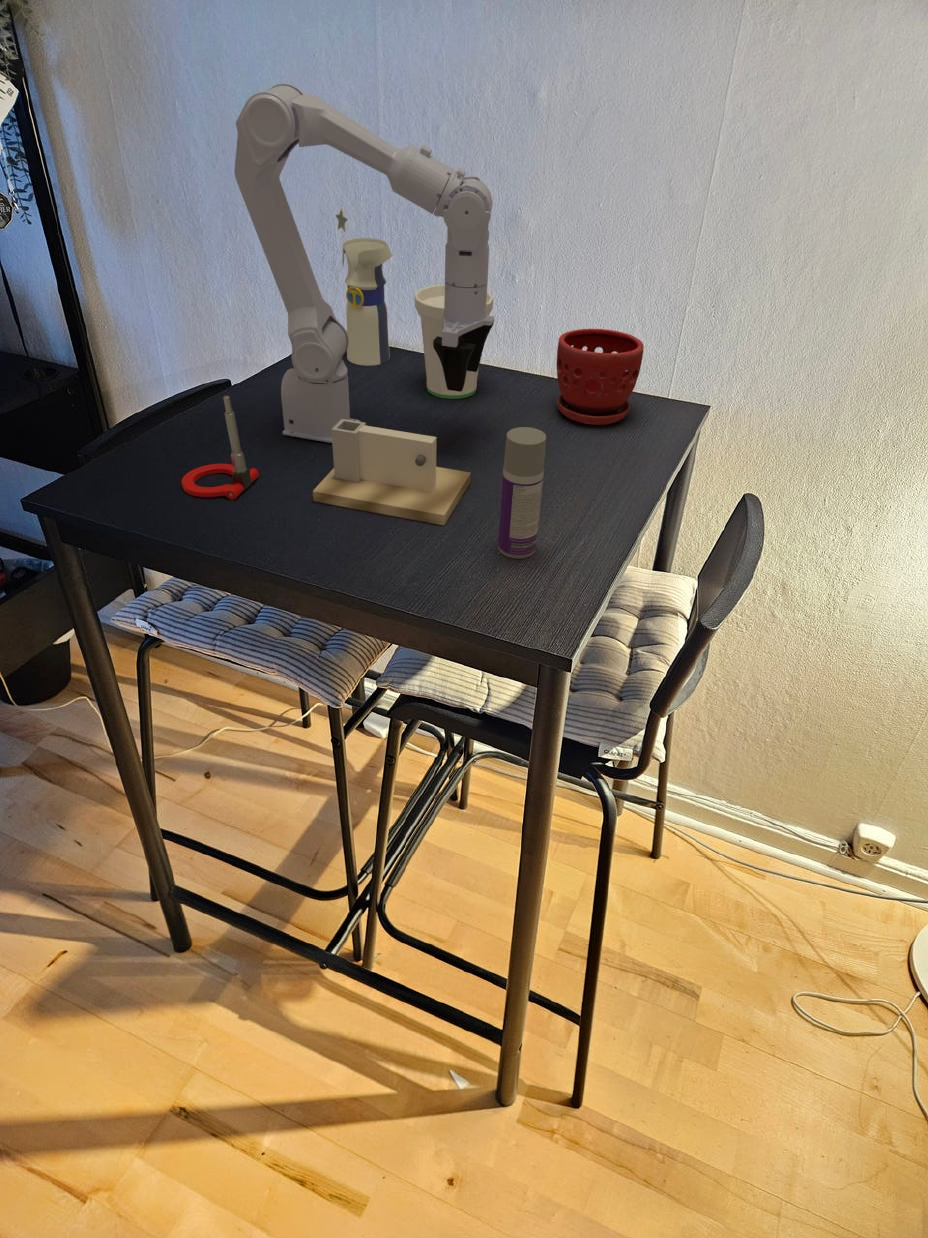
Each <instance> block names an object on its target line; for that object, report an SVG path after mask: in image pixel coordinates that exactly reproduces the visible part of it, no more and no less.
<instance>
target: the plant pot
mask: <svg viewBox="0 0 928 1238" xmlns="http://www.w3.org/2000/svg"><path fill="white" fill-rule="evenodd" d="M557 342H558V343H557V349H556V351H557V352H556V378H557V383H558V388H559V391H560V395H559V397H557V400H556V405H557V408H558V409H559V411H560V412H561V414H563V416H564V417H566V418H568V419H570V420H573V421H575V422H578V423H581V424H587V425H601V426H606V425H609V424H612V423H613V424H614V423H616V422H619V421H621V420H622V419H624V418H625V417H626V416H627V415H628V414H629V412H630V409H631V405H630V403H629V401H628V399H629V398H630V396H631V395H632V393H633V392H634V389H635V387H636V385H637V381H638V378H639V375H640V372H641V367H642V362H643V357H644V351H645V350H644V348H645V347H644V343H643V342H642V340H640V339H639V338H638V337H636V336H634V335H632V334H630V333H626V332H622V331H619V330H614V329H613V330H612V329H604V328H603V329H602V328H581V329H573V330H570V331H567V332H564V333H562V334H561V335H560V336H559V337H558V341H557ZM585 347H586V349H585V350H584V348H585ZM597 348H600V349H601V350H602V352H596V349H597Z"/></svg>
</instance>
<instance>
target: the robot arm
mask: <svg viewBox="0 0 928 1238" xmlns="http://www.w3.org/2000/svg"><path fill="white" fill-rule="evenodd" d="M235 128H236V133H237V138H236V140H237V141H236V147H235V149H236V150H235V161H234V172H233V173H234V176H235V181H236V183H237V186H238V189H239V191H240V194H241V197H242V199H243V202H244V203H245V204H244V205H245V206H246V209H247V212H248V214H249V216H250V219H251V222H252V225H253V227H254V230H255V232H256V235H257V237H258V240H259V243H260V246H261V248H262V251H263V253H264V255H265V258H266V260H267V263H268V266H269V268H270V270H271V273H272V276H273V279H274V281H275V284H276V287H277V289H278V291H279V294H280V296H281V299H282V302H283V304H284V306H285V309H286V313H287V335H288V337H289V340H290V343H291V344H290V345H291V362H292V366H293V368H291V367H290V368H289V369H287V370H286V372H285V373H284V374H283V376H282V380H281V386H280V396H281V407H282V417H283V428H284V430H283V431H282V435H283V436H287V437H288V436H289V437H294V438H295V437H296V438H300V439H306V440H310V441H311V440H312V441H319V442H325V443H329V444H332V431H331V429H332V428H333V427H334V426H335V425H336V424H337V423H338V422H339V421H340V420H341V419H346V420H352V421H358V422H361V421H360V419H355V418H351V414H350V411H351V410H350V409H351V408H350V395H349V391H350V390H349V379H348V378H349V376H348V372H349V371H348V368H347V366H346V364H345V362H344V359H343V356H344V355H345V354H346V353H347V348H348V344H349V338H348V334H347V329H346V328H345V327H344V325H343V324H342V323H341V321H339V320H338V319H337V318H336V316H335V314H334V313H335V312H334V311H333V308H332V307H331V305H330V304H329V303H327V301H326V300H325V299H324V298H323V295H322V293H321V291H320V287H319V284H318V283H317V279H316V277H315V274H314V271H313V268H312V266H311V263H310V260H309V258H308V255H307V251H306V249H305V247H304V243H303V240H302V238H301V235H300V232H299V230H298V229H299V228H298V227H297V224H296V221H295V219H294V215H293V213H292V210H291V208H290V205H289V202H288V198H287V196H286V193H285V190H284V187H283V186H282V182H281V180H280V176H281V173H282V172H283V169H284V167H285V165H286V163H287V160H288V159H289V157H290V153H291V152H292V151H293V150H294V148H295V147H296V146H297V145H298V147H299V148H304V147H306V148H307V147H312V146H313V147H314V146H323V145H327V146H329V147H332V148H334V149H336V150H338V151H340V152H341V153H343V154H345V155H347V156H349V157H351V158H353V159H354V160H357V161H358V162H361V164H362V163H363V164H364V165H367V166H368V167H370V168H372V169H374V170H376V171H378V172H379V173H381V174H383V175H385V176H386V177H387V179H388V182H389V184H390V188H391V190H392V192H394V193H395V194H397V195H399V196H400V197H402V198H403V199H406V200H408V201H409V202H411V203H412V204H414V205H416V206H417V207H419V208H420V209H423V210H424V211H426V212H428V213H430V214H431V215H434V216H435V217H441V218H443V220H444V223H445V226H446V228H447V233H446V234H447V235H446V236H447V237H446V244H445V251H444V252H445V253H444V255H445V256H444V258H445V259H444V261H445V262H444V264H445V265H444V285H445V297H444V313H443V327H444V329H443V331H442V337H438V336H437V337H436V338H435V339H434V340H433V347H434V349H435V351H436V353H437V355H438V357H439V359H440V361H441V364H442V368H443V372H444V377H445V382H446V386H447V389H448V390H452V391H459V392H461V391H462V390H463V387H464V384H465V378H466V372H467V371H472V372H477V370H478V371H479V369H478V367H479V368H480V363H481V360H482V357H483V356H482V355H483V351H484V348H485V343H486V341H487V339H488V336H489V333H490V332H491V329H492V328H493V326H494V324H495V316H492V315H489V316H488V315H487V313H486V302H487V292H488V278H489V261H490V259H489V258H490V245H489V239H490V230H489V223H490V221H491V217H492V214H491V212H492V209H493V197H492V194H491V191H490V189H489V188H488V186H487V185H486V184H485V182H483V181H481V179H480V178H479V177H478V176H474V175H467V176H465V175H466V173H467V172H466V171H465V170H463V169H461V168H458V170H456V169H454V168H452V167H450V166H449V165H447V164H445V163H444V162H442V161H440V160H439V159H437V158H436V157H434V156H432V155H431V154H432V152H433V151H432V149H431V148H429V147H428V146H426V145H422V146H420V148H418V147H417V146H415V145H413V144H412V145H411V144H410V145H408V146H405V147H403V148H397V147H395V146H394V145H392V144H391V143H389V142H387V141H386V140H384V139H383V138H381V137H380V136H378V135H377V134H375V133H374V132H372V130H371V131H370V130H369V129H367V128H366V127H365V126H363V125H361V124H360V123H358V122H356V121H355V120H354V119H352V117H351V118H350V117H349V116H348V115H346V114H345V113H343V112H342V111H340V110H339V109H337V108H335V107H333V105H330V104H329V103H327V102H326V101H324V100H323V99H321V98H319V97H318V96H316V95H315V94H311V93H308V92H306V93H304V92H303V91H302V90H301V89H300V88H299V87H297V86H295V85H294V84H290V83H286V82H285V83H277V84H275V85H272V87H270V88H269V89H267V90H261V91H257V92H254V93H253V94H252V95H251V96H249V97H248V98H247V100H246V101H245V102H244V106H243V108H242V109H241V110H240V113H239V115H238V117H237V119H236V121H235Z"/></svg>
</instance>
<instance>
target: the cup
mask: <svg viewBox="0 0 928 1238" xmlns="http://www.w3.org/2000/svg"><path fill="white" fill-rule="evenodd" d="M444 297H445V284H437V285H430V286H426V287H423V288H420V289H418V290H417V291H416V292H415V293H414V297H413V298H414V307H415V309H416V312H417V314H418V315H419V317H420V322H421V324H420V325H421V332H422V334H421V335H422V342H423V355H424V362H425V363H424V364H425V373H426V374H425V375H426V390H427V392H428V393H430V394H431V395H433V396H434V397H437V398H440V399H447V400H448V399H450V400H459V399H465V398H469V397H471V396H473V395H474V394H475V393H476V391H477V386H478V384H477V382H478V377H479V375H478V374H479V369H480V366H479V367H478V370H477V372H472V371H467V372H466V378H465V384H464V387H463V390H462V391H461V392H459V391H452V390H448V389H447V386H446V382H445V377H444V372H443V368H442V364H441V361H440V359H439V357H438V355H437V353H436V351H435V349H434V347H433V340H434V339H435V338H436V337H437V336H438V337H442V331H443V329H444V327H443V313H444ZM493 306H494V297H493V295H492V294H491V292H489V291H487V302H486V313H487V315H488V316H490V314H491V312H492V310H493V308H494V307H493Z"/></svg>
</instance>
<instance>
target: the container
mask: <svg viewBox="0 0 928 1238" xmlns="http://www.w3.org/2000/svg"><path fill="white" fill-rule="evenodd" d="M546 443H547V436H546V433H545V432H544V431H542V430H540V429H537V428H534V427H529V426H527V427H525V426H523V427H522V426H519V427H514V428H511V429H510V430H509V431H507V432H506V440H505V449H504V459H503V460H504V461H503V469H502V481H501V497H500V510H499V511H500V512H499V524H498V525H499V526H498V538H497V549H498V551H499V552H500V554H502V555H503V556H505V557H507V558H510V559H518V560H519V559H526V558H529V557H531V556H533V555H534V554H535V553H536V550H537V549H536V548H537V542H538V541H537V540H538V532H539V522H540V513H541V505H542V504H541V503H542V493H543V485H544V474H545V473H544V472H545V457H546V447H547V444H546Z"/></svg>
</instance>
